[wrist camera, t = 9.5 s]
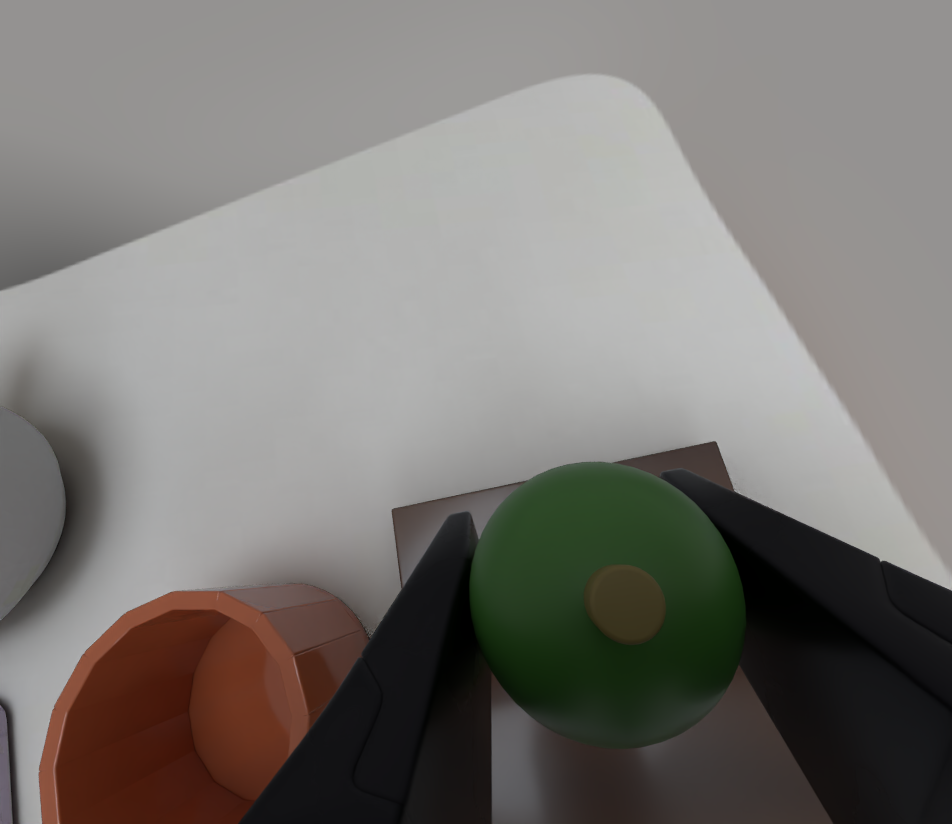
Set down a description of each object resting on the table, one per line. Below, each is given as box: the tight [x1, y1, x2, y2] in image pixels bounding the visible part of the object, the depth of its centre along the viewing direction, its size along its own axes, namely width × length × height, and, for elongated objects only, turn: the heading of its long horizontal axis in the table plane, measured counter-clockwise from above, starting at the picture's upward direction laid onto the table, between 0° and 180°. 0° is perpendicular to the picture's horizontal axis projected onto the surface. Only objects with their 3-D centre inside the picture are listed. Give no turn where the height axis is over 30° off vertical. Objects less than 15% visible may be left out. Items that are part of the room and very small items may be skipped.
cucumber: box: [469, 462, 746, 749], centre depth 10 cm, size 4×4×11 cm
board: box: [392, 441, 833, 824], centre depth 14 cm, size 20×12×2 cm, turn 11°
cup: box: [39, 583, 369, 824], centre depth 15 cm, size 7×7×6 cm
